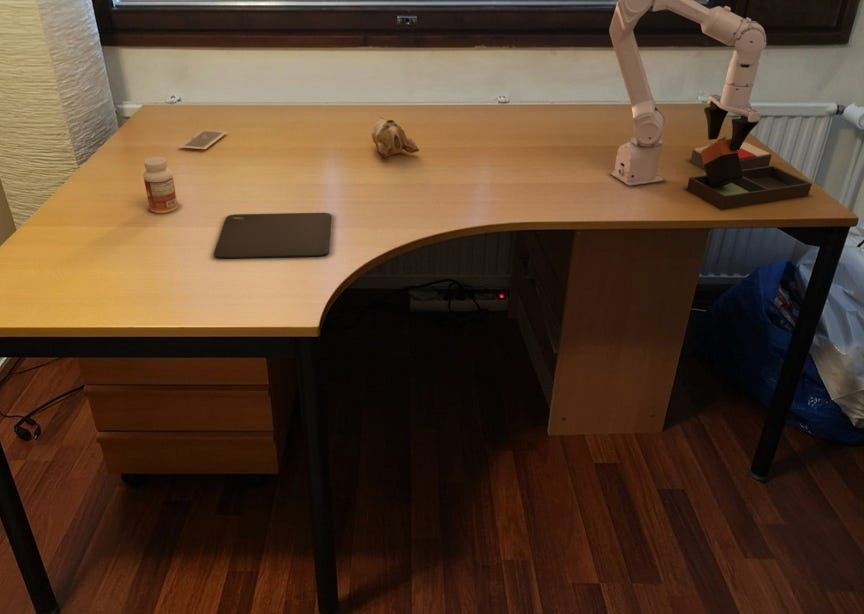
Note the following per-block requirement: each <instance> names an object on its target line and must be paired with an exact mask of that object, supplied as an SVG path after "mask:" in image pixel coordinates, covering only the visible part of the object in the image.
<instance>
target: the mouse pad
mask: <svg viewBox="0 0 864 614" xmlns="http://www.w3.org/2000/svg"><path fill="white" fill-rule="evenodd" d="M331 226H332V215H331V214H330V213H328V212H291V213H289V212H288V213H287V212H286V213H245V214H244V213H241V214H240V213H239V214H237V213H236V214H230V215H227V216H226V217H225V220H224V223H223V225H222V229H221V231H220V234H219V237H218V240H217V243H216V246H215V248H214V251H213V256H214V258H218V259H246V258H247V259H249V258H251V259H252V258H295V257H296V258H297V257H298V258H299V257H325V256H327V255H328V254H329V253H330V246H331V245H330V244H331V229H332V227H331Z"/></svg>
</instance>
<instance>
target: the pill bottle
mask: <svg viewBox="0 0 864 614" xmlns="http://www.w3.org/2000/svg"><path fill="white" fill-rule="evenodd" d="M143 164H144V168H145V171H144V172H143V181H144V186H145V191H146V197H147V202H148V207H149V210H150V211H151V212H153V213H156V214H167V213H170V212H173V211H175V210H176V209H177V208H178V199H177V193H176V187H175V186H176V185H175V181H174V175H173V172H172V170H171V169H170V168H168V160H167V159H166V158H165V157H161V156H155V157H154V156H153V157H150V158H147V159H145V160H144V162H143Z"/></svg>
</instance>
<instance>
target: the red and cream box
mask: <svg viewBox="0 0 864 614" xmlns="http://www.w3.org/2000/svg"><path fill="white" fill-rule="evenodd" d="M707 147H708V145H706V146H701V147H696V148H694V149H692V152H691V157H690V162H691V163H693V164H694V165H696V166H698V167H700V168H701V169H704V170H705V167H704V163H703V159H702V155H701V151H702V150H703V149H705V148H707ZM737 152H738V156H739V160H740V164H741V168H742V170H745V169H752V168H759V167H766V166H770V163H771V159H772V154H771V153H770V152H768V151H766V150H764V149H761V148H760V147H757V146H755V145H753V144H750V143H749V142H746V141H744V142H743V144H742V145H741V147H740V149H739V150H737Z"/></svg>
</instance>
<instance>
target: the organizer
mask: <svg viewBox="0 0 864 614" xmlns="http://www.w3.org/2000/svg"><path fill="white" fill-rule="evenodd" d="M742 172H743V177H742V178H740V179H738V180H736V181H734V182H732V183H730V184H727V185H725V186H722V187H715V188H710V187H709V184H708V180H707V176H706V174H705V175H697V176H691V177H688V182H687V186H686V191H688V192H690V193H692V194H693V195H695V196H697V197H699V198H701V199H702V200H704V201H706V202H708V203H709V204H711V205H713V206H714V207H716V208H718V209H719V210H721V211H722V210H727V209H734V208H740V207H746V206H753V205H760V204H766V203H772V202H778V201H784V200H791V199H792V200H793V199H797V198H803V197H809V194H810V191H811V188H812V185H813V183H812V182H809V181H808V180H805V179H803V178H801V177H800V176H796V175H794V174H793V173H791V172H788V171H786V170H784V169H781V168H780V167H777V166H775V165H769V166H766V167H759V168H752V169H745V170H742Z"/></svg>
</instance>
